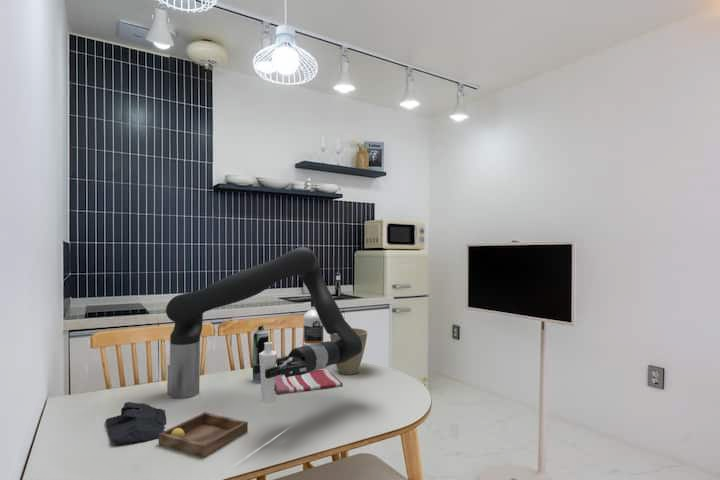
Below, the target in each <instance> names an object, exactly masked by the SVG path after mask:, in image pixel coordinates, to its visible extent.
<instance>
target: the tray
mask: <svg viewBox="0 0 720 480" xmlns="http://www.w3.org/2000/svg"><path fill="white" fill-rule="evenodd" d="M248 424H249V423H248V421H244V420H239V419H237V418H231V417H227V416H223V415H218V414H214V413H209V412H207V411H205V412H202V413H200V414H197V415H196V416H193V417H192V418H190V419H187V420H185V421H183V422H181V423H179V424H176V425H174V426H172V427H171V428H168V429H166V430H165V431H164V432H162V433H160V434H159V439H158V445H160V446H164V447H165V448H169V449H174V450H176V451H180V452H184V453H187V454H190V455H194V456H197V457H200V458H204V459H205V458H207V457H209V456H210V455H211V454H213V453H215V452H216V451H218V450H220V449H222V448H223V447H225V446H227V445H228V444H230V443H231V442H234V441H235V440H236V439H238V438H240V437H241V436H243V435H244V434H246V433H248V426H249V425H248ZM176 428H181V429H183V431H184V438H181V437H177V436H174V435H171V432H172V431H173V430H174V429H176Z"/></svg>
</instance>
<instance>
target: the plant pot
mask: <svg viewBox="0 0 720 480" xmlns="http://www.w3.org/2000/svg"><path fill="white" fill-rule="evenodd" d="M351 328H352V329H353V330H354V331H355V332H356V333H357V335H358V336H359V337H360V339H361V342H362V351H361V353H360V354H358V355H357V356H355V357H353V358H351V359H350V360H348V361H346V362H343V363H340V364H335V365H336V369H337V372H338V373H339V374H342V375H354V374H357V372H358V370H359V369H360V366H361V363H362V359H363V355H364V353H365V350H366V349H365V348H366V344H367V343H366V342H367V337H368V330H365V329H362V328H356V327H351ZM329 337H330V342H336V341H338V340H339V339H341V338H340V336H339V335H338V334H336V333H334V334H329Z"/></svg>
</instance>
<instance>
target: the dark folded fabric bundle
mask: <svg viewBox="0 0 720 480" xmlns="http://www.w3.org/2000/svg"><path fill="white" fill-rule="evenodd" d="M120 409H121V410H120V412H121V413H120V414H119V415H117V416H112V417H109V418H106V419H105V423H106V428H107V433H108V435H109V437H110V441H111V442H112V444H114V445H116V446H119V445H121V446H122V445H127V444H135V443H141V442H151V441H155V440H159V434H160V433H162V432H164V431H166V430H165V429H166V426H167V416H166V410H165V409H162V408H156V407H153V406H151V405H149V404H147V403H141V402H139V403H138V402H130V401H128V402H127V401H126V402H125V403H124V404H123V406H122V407H121V408H120Z"/></svg>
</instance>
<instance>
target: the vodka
mask: <svg viewBox="0 0 720 480" xmlns="http://www.w3.org/2000/svg"><path fill="white" fill-rule="evenodd" d="M322 342H324V326H323V324H322V322H321V320H320V318H319V316H318V314H317V311H316V309H315V306H314V303H313V300H312V297H311V296H310V309H309V310H307V312H305V313H304V314H303V346H306V345H311V344H318V343H322Z"/></svg>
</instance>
